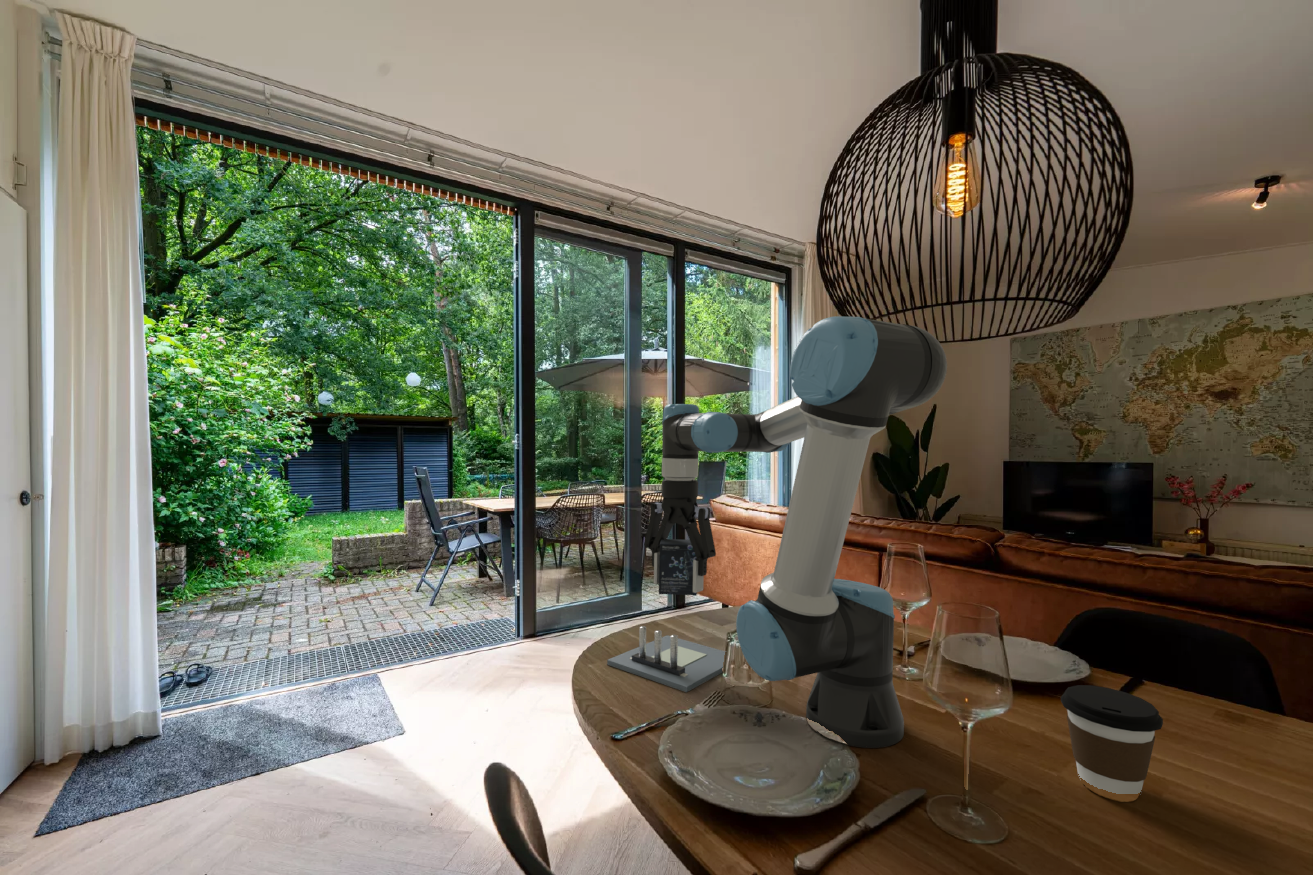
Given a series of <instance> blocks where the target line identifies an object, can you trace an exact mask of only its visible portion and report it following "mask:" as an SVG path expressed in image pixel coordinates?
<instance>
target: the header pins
mask: <svg viewBox="0 0 1313 875" xmlns="http://www.w3.org/2000/svg"><path fill="white" fill-rule="evenodd" d="M638 628H639V631H638V633H639V635H638V637H639V640H638V647H639V653H637V654H634V655H632V661H635V662H638V663H641V664H644V665H647V666H650V667H653V668H656V669H659V670H662V671H665V672H668V673H671V674H674V675H677V676H680V675H681V674H683V673H685V668H684V667H681V666H678V665H677V656H678V638H679V635H678V634H671V635H670V636H671V644H670V663H668V662H665V661H662V660H661V646H662V637H663V633H662V630H661V629H657V630H656V629H655V630H654V640H655V644H654V658H653V657H650V656H646V644H647V626H645V625H640V626H639V627H638Z"/></svg>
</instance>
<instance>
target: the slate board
mask: <svg viewBox="0 0 1313 875" xmlns="http://www.w3.org/2000/svg"><path fill="white" fill-rule="evenodd" d="M654 644H655V639H654V640H652V641H650V642H646V656H650V657H653V658H654ZM670 644H671V635H667V634H666V635H665V636H662V646H661V660H662V661H665V662H668V663H670ZM725 652H726V651H725V650H722V649H718V648H714V647H710V646H706V645H703V644H699V643H696V642H694V641H690V640H685V639H682V638H679V637H678V656H677V665H678V666H681V667H684V668H685V673H683V674H681V675H680V676H677V675H674V674H671V673H668V672H665V671H662V670H659V669H656V668H653V667H650V666H647V665H644V664H641V663H638V662H635V661H632V655H634V654H637V653H639V646H637V647H635V648H632V649H630V650H627V651H625V652H623V653H620V654H618V655H616V656H613V657H611V658H608V659H607V662H606V665H607V666H609V667H613V668H616V669H618V670H621V671H624V672H627V673H630V674H633V675H634V676H635V675H636V676H639V677H641V678H645V679H647V680H650V681H654V682H656V683H659V684H662V685H665V686H667V687H671V688H673V689H676V690H679V691H682V692H685V693H688V692H690V691H691V690H693V689H695V688H697V687H699V686H700V685H702V684H704V683H706V682H708V681H710V680H711V679H713V678H715V677H717V676H718V675H721V674H722V673H723V672H722V668H723V662H724V655H725Z"/></svg>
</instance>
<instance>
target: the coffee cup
mask: <svg viewBox="0 0 1313 875" xmlns="http://www.w3.org/2000/svg"><path fill="white" fill-rule="evenodd" d="M1060 702H1061V704H1062V706H1063V708H1065V709H1066V711H1067V715H1066V716H1067V717H1066V719H1067V724H1068V729H1069V730H1068V732H1069V737H1070V738H1069V739H1070V742H1071V749H1072V754H1073V758H1074V760H1075V763H1076V770H1077V775H1078V774H1079V775H1078V777H1079V776H1080V777H1079V779H1080V778H1082V779H1083V780H1085V781H1086V782H1087V783H1089V784H1090V785H1093V786H1094V787H1097V788H1098V789H1103V790H1106V791H1108V792H1112V793H1116V794H1138V793H1140V792H1141V793H1142V791H1141V790H1142V789H1143V785H1144V781H1145V780H1146V778H1147V776H1148V771H1149V767H1150V763H1151V759H1152V753H1153V749H1154V744H1155V739H1156V736H1155V732H1156V731H1159V730H1161V729H1162V727H1163V725H1164V719H1163V718H1162V716H1161V715H1160V711H1159V710H1158V709H1157V708H1156V707H1155V706H1154V705H1153V704H1152V703H1150V702H1148V701H1147V700H1145V699H1143V698H1141V697H1139V696H1138V695H1137V696H1136V695H1133V694H1131V693H1128V692H1125V691H1122V690H1119V689H1118V690H1117V689H1115V688H1110V687H1106V686H1105V687H1104V686H1098V685H1089V684H1088V685H1087V684H1086V685H1083V684H1080V685H1079V684H1077V685H1072V686H1068V687H1067V688H1066V689H1065V691H1064V692H1063V693H1062V695H1061V696H1060Z"/></svg>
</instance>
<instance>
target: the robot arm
mask: <svg viewBox="0 0 1313 875" xmlns="http://www.w3.org/2000/svg"><path fill="white" fill-rule="evenodd" d="M789 368H790V369H789V377H790V380H792V381H793V382H792V383H791V386H792V387H791V388H792V390H793V391H794V393H795V395H796V396H795V397H793V398H790V399H788V400H786V401H783V402H782V403H779V404H777V405H775V406H772V407H770V408H768V409H766V410H764V411H761V412H759V413H755V414H749V413H747V414H745V413H726V412H720V411H707V412H700V408H699V406H698V405H697V404H692V403H689V404H688V403H687V404H686V403H672V404H671V403H669V404H666V405H665V406H664V408H663V416H662V421H661V425H662V451H661V452H662V454H661V455H662V458H661V476H662V477H663V478H664V479H662V481H661V496H662V498H663V499H662V502H652V503H651V504H649V505H650V506H649V507H650V516H649V521H648V526H647V530H646V534H645V539H644V543H643V544H644V545H643V546H644V548H646V549H649V550H650V551H651V566H652V567H653V584H654V585H659V562H660V542H661V539H668V537H669V535H670V533H671V531H672V528H673V526H675V525H676V524H677V525H681V526H682V527H683V529H684V530H685V532H686V535H687V537H688V538H689V539H688V540H690V542H691V544H692V547H693V550H694V552H695V555H696V557H697V558H696V559H695V560H693V592H694V593H697V594H698V593H700V592H702V591H704V582H705V581H704V576H706V575H707V571H708V559H710V558H713V557H716V555H717V552H716V546H715V543H714V535H713V531H712V526H711V520H710V518H711V517H710V515H711V509H710V507H700V506H698V503H697V499H698V496H699V495H698V494H699V482H698V480H697V479H696V478H698V477H699V452H704V453H705V452H706V453H709V454H713V453H714V454H715V453H717V454H719V453H731V452H733V453H738V452H739V453H740V452H741V453H742V452H749V453H750V452H751V453H766V454H769V453H776V452H777V453H778V452H782V451H784V450H786V449H787V448H788V445H790V444H791V443H792V442H795V441H798V440H800V439H803V442H802V447H801V451H800V454H799V460H798V464H797V468H796V473H795V478H794V482H793V487H792V491H791V495H790V500H789V504H788V508H787V513H786V517H785V521H784V522H785V523H784V526H783V530H782V535H781V541H780V543H779V549H778V551H777V552H778V553H777V557H776V561H775V566H774V571H773V572H772V573H769V574H767V575H766V576H764V577H763V578H762V579H761V580H760V581H761V582H760V586H759V589H758V595H757V597H756V598H757V599H756V600H749V601H747V602H746V603H744V604H742V605H740V607H739V609H738V610H737V614H736V619H735V620H736V621H735V623H736V624H735V626H736V635H737V641H738V643H739V646H740V650H741V652H742V656H743V657H744V659H745V661H746V662H747V664H748V666H750V668H751V669H752V670H753V672H755V674H756V675H757V676H759V677H760V678H762V679H763V680H766V681H769V682H777V681H779V682H780V681H792V680H794V679H797V678H799V677H804V676H805V677H806V676H808V675H813V674H814V675H815V674H816V676H815V679H814V682H813V684H812V688H811V690H810V693H809V696H808V698H807V702H806V705H805V706H806V708H805V710H806V713H805V717H807V718H808V719H809V720H812V721H814V722H817V723H819V724H820V725H821V726H824V727H825V728H826V729H828V730H829V731H833V732H834V733H835V734H837V735H839V736H840V737H841V738H842V739H843V740H844V741H845V742H846V743H847V744H848V745H847V746H850V747H856V748H866V749H867V748H868V749H877V748H878V749H879V748H885V747H891V746H893V745H896V744H897V743H899V742H900V741H901V740H902V739H903V738H904V734H905V731H904V730H905V720H904V719H905V718H904V715H903V712H902V709H901V705H900V703H899V699H898V696H897V693H896V690H895V687H894V683H893V677H894V676H893V668H894V667H893V666H894V637H895V636H894V635H895V634H894V632H895V631H894V630H895V618H896V617H895V614H894V612H895V611H894V600H893V597H892V595H891V593H890V592H889V591H887V590H886V589H884V588H883V587H879V586H875V585H874V584H873V585H872V584H869V583H865V582H860V581H856V580H855V581H854V580H849V579H843V578H842V579H841V578H835V576H836V572H837V569H838V565H839V561H840V557H841V553H842V550H843V546H844V542H845V538H846V535H847V531H848V528H849V522H850V519H851V514H852V511H853V507H854V503H855V499H856V496H857V492H858V488H859V485H860V479H861V477H862V476H861V475H862V473H863V469H864V464H865V461H866V457H867V452H868V449H869V445H870V441H871V438H872V437H873V435H876V434H877V433H879V432H881V431H883V430H884V429H886V426H887V424H888V419H889V416H890V415H893V414H897V413H899V412H902V411H906V410H909V409H914V408H915V407H916V408H917V407H918V406H921V405H923V404H925V403H926V402H928V401H930V400H931V399H932V398H934V396H935V395H936V394H938V392H939V391H940V390H941V388H942V386H943V384H944V382H945V379H946V376H947V373H948V372H947V371H948V370H947V369H948V361H947V355H946V352H945V350H944V348H943V345H941V342H939V340H938V339H937V338H936V337H935V336H934V335H933V334H931V333H930V332H929V331H927V330H926V329H923V328H921V327H918V326H916V325H912V324H911V325H910V324H903V323H902V324H901V323H894V322H887V321H882V320H875V319H870V318H864V317H860V316H838V315H837V316H836V315H835V316H829V317H826V318H823V319H821V320H819V321H817V322H816V323H814V324H813V326H812V327H810V328H808V329H807V330H806V331H805V332H804V334H803V335H802V336H801V337H800V339H799V340H798V342H797V344H796V346H795V349H794V350H793V353H792V357H791V360H790V366H789ZM663 513H664V515H663ZM695 516H696V517H695ZM696 518H697V519H696Z"/></svg>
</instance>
